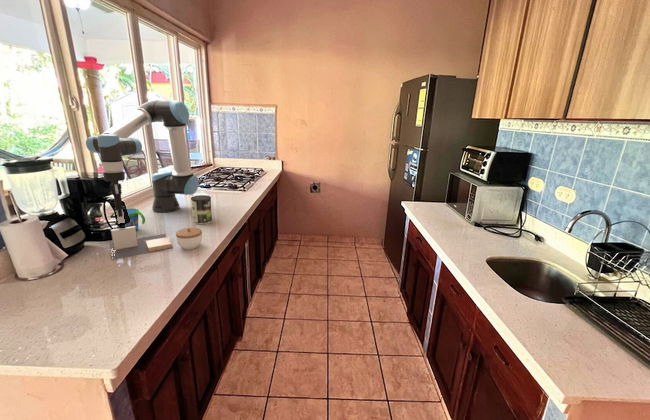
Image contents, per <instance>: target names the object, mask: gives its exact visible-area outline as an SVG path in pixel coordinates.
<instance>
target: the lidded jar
mask: <svg viewBox="0 0 650 420" xmlns="http://www.w3.org/2000/svg"><path fill="white" fill-rule="evenodd" d="M175 236H176V242H177V244H178V246H179V247H180V248H182V249H184V250H193V249H196V248H198V247H199V246H200V245H201V244H202V240H203V231H202V229H201V228H199V227H185V228H182V229H179V230H177V231H176V232H175Z"/></svg>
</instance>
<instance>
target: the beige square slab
mask: <svg viewBox="0 0 650 420" xmlns="http://www.w3.org/2000/svg"><path fill="white" fill-rule="evenodd" d="M171 245H172V242H171V241H170V238H169V237H168V236H167V237H165V238H159V239H153V240H148V241H146V246H147V248H148V251H149V252H151V251H156V250H161V249H167V248H171ZM167 250H168V249H167Z"/></svg>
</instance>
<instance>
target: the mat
mask: <svg viewBox="0 0 650 420" xmlns="http://www.w3.org/2000/svg"><path fill="white" fill-rule="evenodd" d="M165 237H168V236H167V234H166V233H162V234H157V235H156V234H155V235H150V236H145V237H137V240H138V246H136V247H130V248H125V249H119V250H116V251H115V253H113V256H111V254H112V253H111V254H110V260H111V259H112V257H113V259H112V260H111V261H115V260H119V259H124V258H130V257H135V256H140V255H147V254H151V253H156V252H162V251H167V250H171V249H174V247H173V245H172V244H171V248H167V249H161V250H156V251H151V252H149V251H148V248H147V246H146V241H148V240H153V239H159V238H165ZM108 245H109V249H110V248H111V249H112V248H113V250H114V246H113V242H109V244H108ZM112 252H114V251H112ZM114 254H115V256H114Z"/></svg>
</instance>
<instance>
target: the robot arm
mask: <svg viewBox="0 0 650 420" xmlns="http://www.w3.org/2000/svg"><path fill="white" fill-rule="evenodd" d="M189 120H190V111H189V109H188V107H187V106H186V104H184V103H183V102H182V101H180V100H171V99H170V100H168V99H167V100H166V99H164V100H163V99H153V100H152V99H151V100H149V101H146V102H144V103H143V104H140V105H138V106H137V107H135V108H134V109H133V111H132V113H130V115H128V116H126V117H125V118H123V119H122V120H121V121H119V122H118V123H116V124H114V125H113V126H112V127H110V128H109V129H107V130H106V131H104V132H103V133H101V134H98V135H94V136H88V137H87V138H86V139H85V146H86V149H87V150H88V151H89V152H90V153H95V154H99V155H100V156H99V157H100V162H101V163H100V164H99V166H100V167H102V172H103V180H104V181H105V182H111V183H110V184H109V187H110V190H111V194H112V196H113V200H114V206H115V207H114V208H113V210H114V211H115V212H116V215H117V219H116V222H117V221H118V222H117V224H120V223H125V219H124V212H123V209H125V206H124V205H123V201H122V200H123V199H122V194H123V193H122V183H119V182H121V181H124V180H125V179H126V177H125V171H124V162H123V157H124V156H125V157H126V156H132V155H133V156H134V155H137V154H139V153H141V152H142V149H143V145H142V142H141V140H139V139H138V138H135V137H131V136H132V135H133V134H135V133H136V132H137V131H139V130H140V129H142V128H143V127H144V126H149V125H151V123H162V125H163V127H164V128H165V129H166V130H167V131H166V132H167V137H168V142H169V148H170V156H171V160H172V167H173V171H171V170H170V171H162V172H156V173H153V174H151V182H152V190H153V196H154V198H153V202H152V207H151V208H152V211H153V212H156V213H171V212H174V211H177V210H179V209H180V206H181V205H180V202H179V201H178V199H177V197H176V195H185V196H188V195H189V196H191V195H195V193H196V192H197V190H198V189H199V185H200V184H199V183H200V182H199V178H198V177H197V176H196V175H194V171H193V170H191V169H190V161H189V155H188V148H187V142H186V137H185V136H186V135H185V130H184V129H185V128H186V126H187V123H188V122H189Z"/></svg>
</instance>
